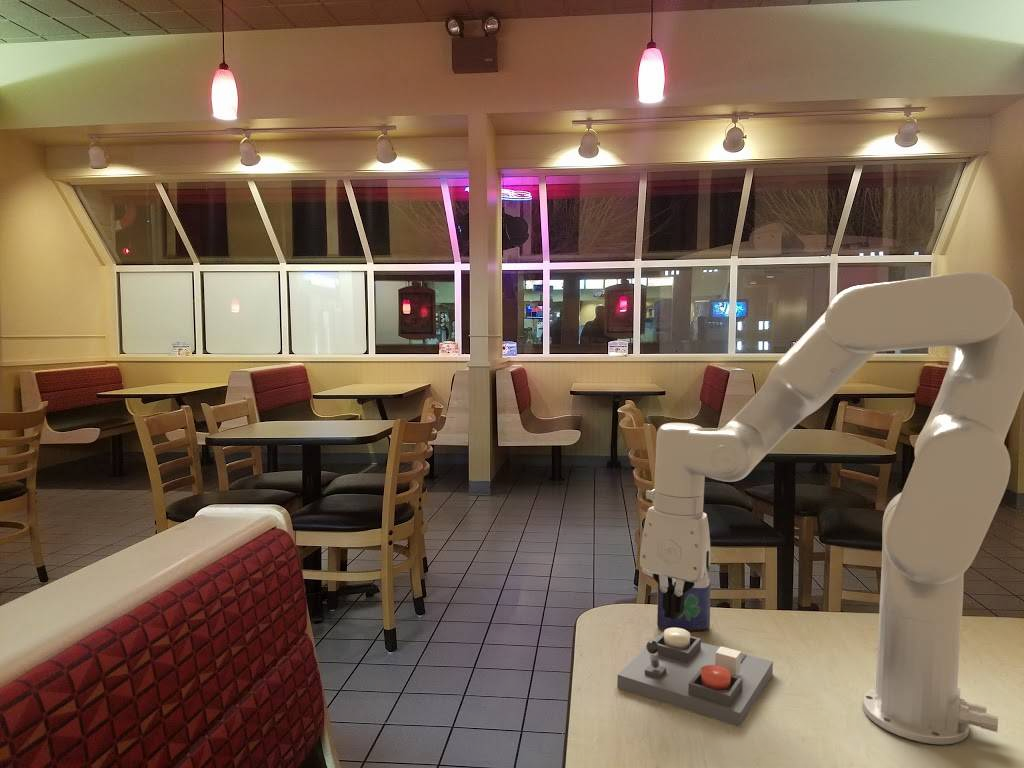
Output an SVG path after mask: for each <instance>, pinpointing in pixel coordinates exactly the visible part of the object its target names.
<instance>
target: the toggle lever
mask: <svg viewBox="0 0 1024 768" xmlns="http://www.w3.org/2000/svg"><path fill="white" fill-rule="evenodd" d="M645 648H646V649H647V651H648V652H649V655H650V661H651V666H652V667H653V668H658V667H659V659H658V650H659V646H658V644H657V642H655V641H653V640H649V641H648V642H647V643H646V645H645Z"/></svg>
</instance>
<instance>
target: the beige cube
mask: <svg viewBox="0 0 1024 768" xmlns="http://www.w3.org/2000/svg"><path fill="white" fill-rule="evenodd" d="M719 647H720V648H719V649H718V650H717V651H716V657H715V665H719V666H722V667H725V668H726V669H728V670H729V671H730V673H731V675H734V676H737V675H738V674H739V672H740V668H741V653H742V651H741V650H737V649H733V648H729V647H726V646H719Z"/></svg>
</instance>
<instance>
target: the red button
mask: <svg viewBox="0 0 1024 768" xmlns="http://www.w3.org/2000/svg"><path fill="white" fill-rule="evenodd" d="M701 683H702V684H703V685H704V686H706V687H708V688H711V689H715V690H726V689H728V688H729V687H730V685H731V673H730V671H729V670H728V669H726V668H725V667H722V666H719V665H706V666H704V667H702V669H701Z"/></svg>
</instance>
